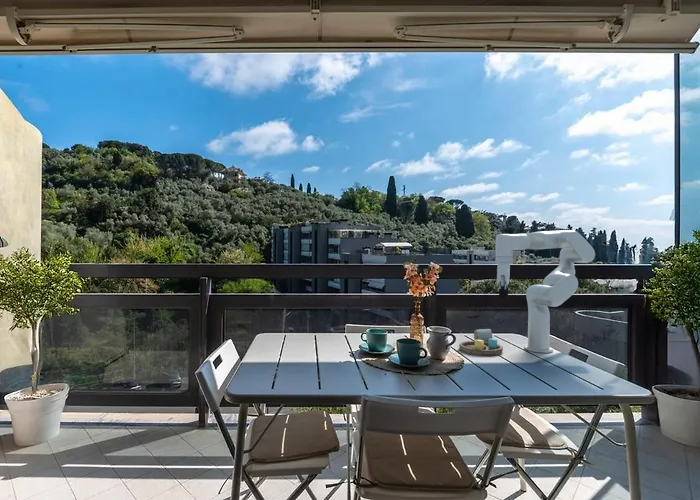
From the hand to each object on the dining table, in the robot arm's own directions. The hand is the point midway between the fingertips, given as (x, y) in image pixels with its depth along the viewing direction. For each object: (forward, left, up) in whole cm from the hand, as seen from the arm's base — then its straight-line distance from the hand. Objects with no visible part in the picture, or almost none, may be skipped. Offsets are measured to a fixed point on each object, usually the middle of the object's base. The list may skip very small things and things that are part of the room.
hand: (503, 297), depth 193 cm
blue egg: (0, -4, -25) cm, 26 cm away
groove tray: (0, -10, -26) cm, 28 cm away
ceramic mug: (-15, -10, -27) cm, 32 cm away
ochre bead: (+6, -10, -25) cm, 28 cm away
